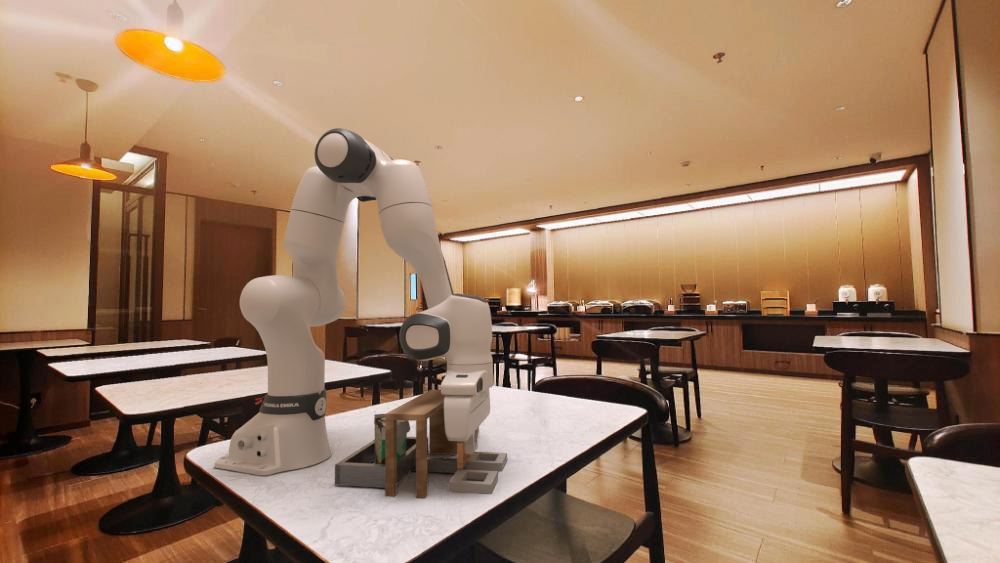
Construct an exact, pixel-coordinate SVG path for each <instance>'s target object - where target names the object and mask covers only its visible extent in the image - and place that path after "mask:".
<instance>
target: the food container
mask: <svg viewBox="0 0 1000 563" xmlns="http://www.w3.org/2000/svg"><path fill="white" fill-rule="evenodd" d="M385 414H386V413H378V414H377V413H376V414H374V415H373V416H374V418H373V420H374V421H373V424H374V440H375V460H374V464H385ZM410 431H411V426H410V420H397V459H398V458H399V457H400V456H402V455H403V454H404V453H405V452H406V438H407V437H408V436H407V434H408V433H409V432H410Z"/></svg>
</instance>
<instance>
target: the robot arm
mask: <svg viewBox="0 0 1000 563" xmlns="http://www.w3.org/2000/svg"><path fill="white" fill-rule="evenodd" d="M314 160H315V164H316V166H311V167H309V168H307V169H306V170H305V172H304V173H303V175H302V177H301V179H300V181H299V183H298V185H297V188H296V191H295V194H294V197H293V199H292V204H291V208H290V212H289V216H288V219H287V220H288V221H287V226H286V229H285V232H284V233H285V234H284V237H283V238H284V239H283V247H284V250H285V251H286V252H287V254H288V255H289V256H290V258H291V262H292V271H293V274H292V275H291V276H290V275H283V274H282V275H281V274H274V275H265V276H261V277H260V276H259V277H256V278H253V279H251V280H250V281H248V282H247V283H246V285H244V287H243V289H242V290H241V294H240V297H239V308H240V311H241V315H242V316H243V318H244V319H245V320H246V321H247V322H249V323H250V324H251V325H252V326H253V327H254V328H255V329H256V331H257V332H258V334H259V336H260V339H261V341H262V343H263V346H264V348H265V354H266V359H267V360H266V361H267V393H266V394H265V395H264V396H262V397H259V398H258V397H257V398H255V401H257V402H255V403H254V404H255V405H259V404H261V405H260V408H259V412H258V413H257V414H256V415H253V417H252V418H251V419H249V420H248V421H246V423H244V424H243V425H242V426H241V427H239V428H237V430H235V432H234V433H233V434H232V436H231V438H230V441H229V445H228V446H229V447H228V453H227V454H224V455H223V456H221V457H219V458H217V459H216V460H215V462H214V468H215V469H216V468H217V469H222V470H228V471H233V472H240V473H245V474H251V475H257V476H269V475H274V474H277V473H281V472H286V471H292V470H297V469H302V468H306V467H309V466H313V465H316V464H318V463H321V462H323V461H326V460H328V459H329V458H330V457H331V456H332V453H333V452H332V449H331V446H330V442H329V437H328V433H327V425H326V414H327V413H326V412H327V399H328V398H327V389H326V388H325V377H326V376H325V374H326V373H325V370H326V369H325V368H326V366H325V364H326V363H325V362H326V358H325V353H324V351H323V350H322V349H321V348H320V347H319V346H317V344H316V343H315V340H314V338H313V334H312V331H311V327H322V326H325V325H327V324H331V323H332V322H335V321H337V320H339V319H340V318H341V317H342V315H343V314H344V313H345V310H346V304H347V299H346V295H345V293H344V291H343V289H342V288H341V285H340V282H339V275H338V254H339V250H340V243H341V238H342V233H343V229H344V225H345V222H346V221H345V220H346V215H347V211H348V208H349V205H350V203H352V201H353V200H354V199H357V200H358V201H359V202H363V203H364V202H371V201H376V206H377V212H378V217H379V224H380V229H381V232H382V235H383V238H384V240H385V242H386V245H387V246H388V247H389V248H390V249H391V250H392V251H393V252H394V253H395V254H397V255H398V256H399V257H400V258H402V259H403V260H405V262H407V263H408V264H409V265H410V266H411V267H412V268H413V269H414V271H415V272H416V274H417V275H418V277H419V280H420V282H421V286H422V289H423V293H424V298H425V302H426V306H427V309H426V310H422V311H419V312H416V313H413V314H411V315H409V316H408V317H406V319H405V320H404V321H403V322H402V324H401V326H400V330H399V334H398V336H399V344H400V346H401V348H402V351H403V352H404V354H406V356H408V357H409V358H410V359H413V360H416V361H424V362H425V361H427V362H428V361H431V360H439V359H441V358H443V359H444V358H445V359H446V373H445V375H446V376H445V378H444V380H443V381H442V380H441V383H440V390H441V394H442V395H446V396H445V398H444V423H445V433H446V436H447V439H448V440H449V441H464V444H465V453H466V454H473V453H474V452H476V451H477V449H478V447H479V446H478V439H479V434H480V426H481V425H482V424H483V423H484V421H485V420H486V419H487V418H488V417H489V416H490V413H491V397H490V395H491V394H490V392H491V391H490V388H492V387H493V386H494V363H493V356H492V352H491V347H492V342H493V327H492V326H493V324H492V323H493V322H492V314H491V309H490V305H489V303H488V301H487V300H486V299H484V298H483V297H482V296H479V295H478V296H477V295H473V294H472V295H471V294H466V293H465V294H464V293H454V289H453V286H452V282H451V279H450V274H449V271H448V267H447V264H446V260H445V257H444V254H443V250H442V247H441V243H440V242H441V241H440V239H439V235H438V234H439V233H438V230H437V225H436V219H435V214H434V210H433V205H432V200H431V196H430V192H429V189H428V187H427V186H428V185H427V183H426V180H425V178H424V175H423V173H422V171H421V168H420V167H419V166H418V165H417V164H416V163H415V162H413V161H412V160H408V159H403V158H401V159H400V158H399V159H394V158H393V157H392V156H389V155H388V154H387V153H386V152H384V151H383V149H381V148H380V147H379V146H378V145H376V144H374V143H372V142H370V141H368V140H366V139H365V138H363V137H362V136H361V135H360V134H358V133H357V132H354V131H351V130H349V129H345V128H340V127H339V128H332V129H330V130H327V131H326V132H324V133H323V135H321V136H320V137H319V139H318V140H317V142H316V145H315V148H314Z"/></svg>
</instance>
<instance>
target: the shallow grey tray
mask: <svg viewBox="0 0 1000 563" xmlns="http://www.w3.org/2000/svg"><path fill="white" fill-rule="evenodd" d="M428 455H429V437H428V436H427V473H429V472H430V473H431V472H432V473H446V474H447V473H448V474H455V473H456V471H457V470H458V469H465V470H466V463H467V462H468V461H469V459H470V458H471V454H466V453H465V444H464V441H459V442H458V443H457V455H456V457H439V456H434V457H433V456H428ZM373 462H375V439H374V440H372V441H370V442H369V443H367V444H365V445H363V446H362V447H360V448H359V449H357V450H356V451H354V452H352V453H351V454H350V455H348V456H346V457H345V458H343V459H341V460H339V461H338V462H337V463H335V464H334V485H335V486H350V487H351V486H353V487H367V488H368V487H369V488H382V489H383V488H384V489H385V464H375V463H373ZM410 472H416V436H407V438H406V452H405V453H404V454H403V455H402V456H400V457H399V458H398V459H397V484H399V482H401V481H402V480H403V479H404V478H405V477H406V476H407V475H408V474H409V473H410Z"/></svg>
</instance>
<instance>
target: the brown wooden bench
mask: <svg viewBox="0 0 1000 563" xmlns="http://www.w3.org/2000/svg"><path fill="white" fill-rule="evenodd" d="M445 396H446V395H442V394H441V389H429V390H428V391H426V392H423V393H422V394H420V395H418V396H416V397H415V398H413V399H410V400H408V401H406V402H404V403H403V404H401V405H399V406H397V407H395V408H394V409H392V410H390V411H388V412H386V413H384V414H385V488H384V490H385V491H384V492H385V493H384V494H385V495H384V496H385V497H395V496H396V495H397V494H398V492H397V491H398V487H397V486H398V483H397V420H408V421H412V422H413V421H415V437H416V471H415V474H416V475H415V482H416V483H415V484H416V485H415V489H416V490H415V492H416V495H415V498H416V499H426V498H427V496H428V472H427V457H428V455H427V437H428V436H429V437H428V446H429V454H430V455H452V456H455V455H456V456H457V443H458V442H459V441H449V440H448V439H447V436H446V433H445V423H444V398H445ZM428 422H429V424H428ZM428 425H429V426H428ZM428 427H429V431H428ZM428 432H429V435H428Z"/></svg>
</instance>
